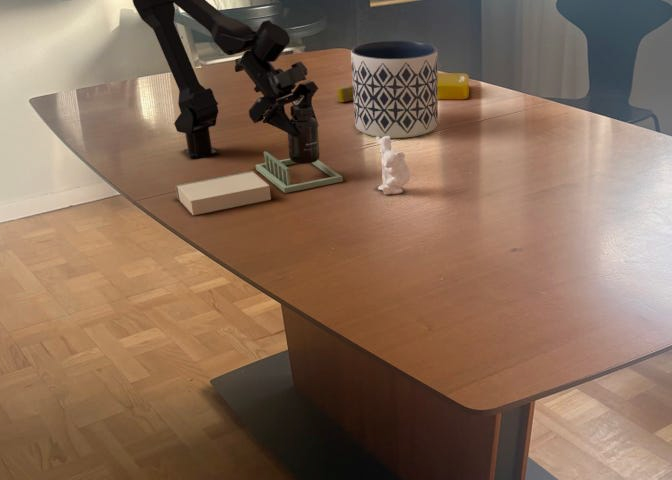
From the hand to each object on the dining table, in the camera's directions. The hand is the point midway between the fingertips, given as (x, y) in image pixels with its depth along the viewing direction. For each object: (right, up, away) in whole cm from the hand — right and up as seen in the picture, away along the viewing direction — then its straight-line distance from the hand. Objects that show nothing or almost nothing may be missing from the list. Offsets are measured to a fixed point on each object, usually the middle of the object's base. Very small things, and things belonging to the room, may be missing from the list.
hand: (307, 131), depth 186 cm
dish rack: (-3, -8, +6) cm, 11 cm away
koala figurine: (+19, -14, -2) cm, 24 cm away
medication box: (+4, +26, +63) cm, 68 cm away
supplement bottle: (-1, -5, +4) cm, 7 cm away
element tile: (+30, +29, +69) cm, 80 cm away
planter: (+17, +11, +39) cm, 44 cm away
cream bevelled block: (-17, -16, -7) cm, 24 cm away
